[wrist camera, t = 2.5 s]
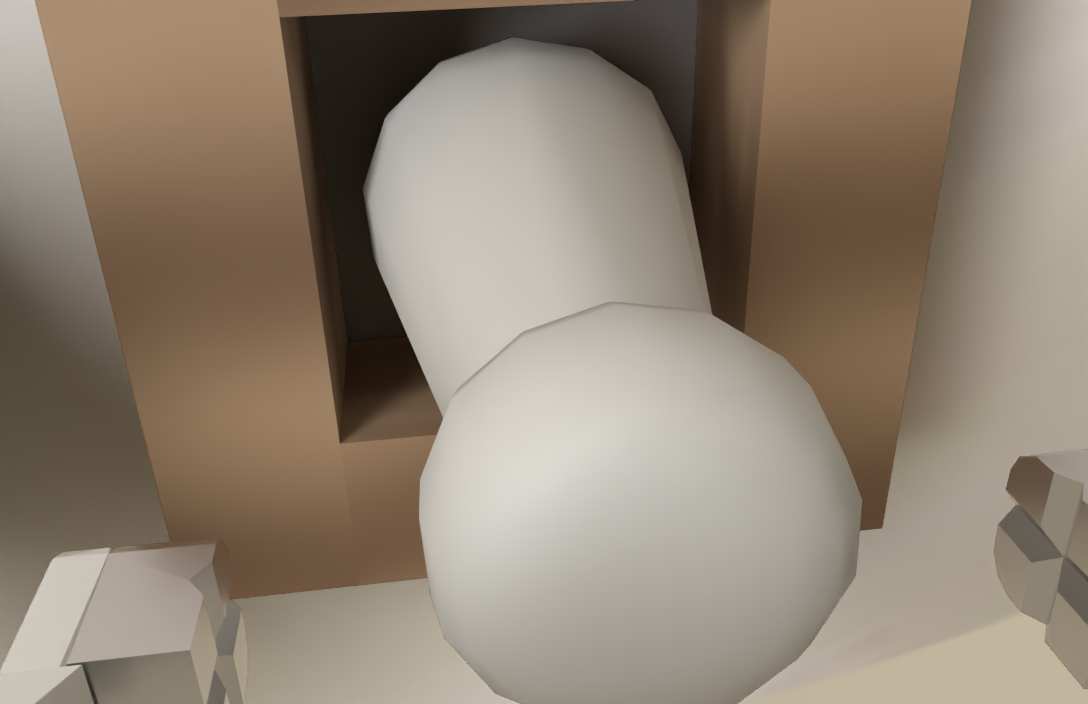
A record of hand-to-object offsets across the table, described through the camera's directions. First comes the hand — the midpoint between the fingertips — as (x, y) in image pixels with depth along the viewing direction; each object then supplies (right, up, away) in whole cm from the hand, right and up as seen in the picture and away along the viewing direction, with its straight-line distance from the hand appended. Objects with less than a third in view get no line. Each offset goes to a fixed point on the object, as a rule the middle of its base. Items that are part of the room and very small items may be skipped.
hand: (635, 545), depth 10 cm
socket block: (-2, +6, +10) cm, 12 cm away
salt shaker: (-2, +6, +10) cm, 12 cm away
